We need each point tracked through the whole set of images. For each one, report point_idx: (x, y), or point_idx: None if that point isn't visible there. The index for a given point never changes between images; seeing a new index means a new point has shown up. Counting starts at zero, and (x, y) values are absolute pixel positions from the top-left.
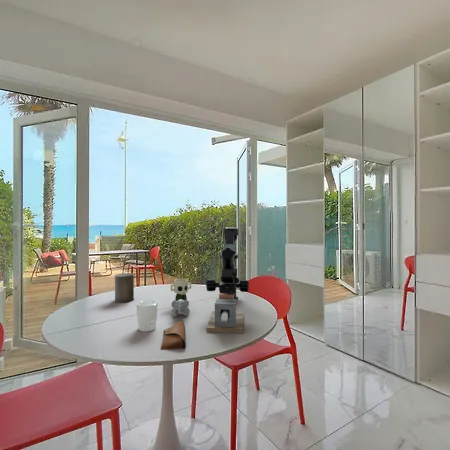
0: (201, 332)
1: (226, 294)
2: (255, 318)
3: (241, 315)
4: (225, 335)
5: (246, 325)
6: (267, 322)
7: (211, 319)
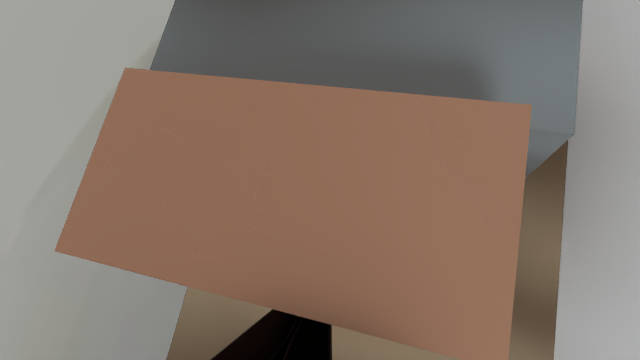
0: (606, 48)
1: (284, 119)
2: (88, 334)
3: (186, 347)
4: None
5: None
6: (50, 223)
7: (532, 262)
